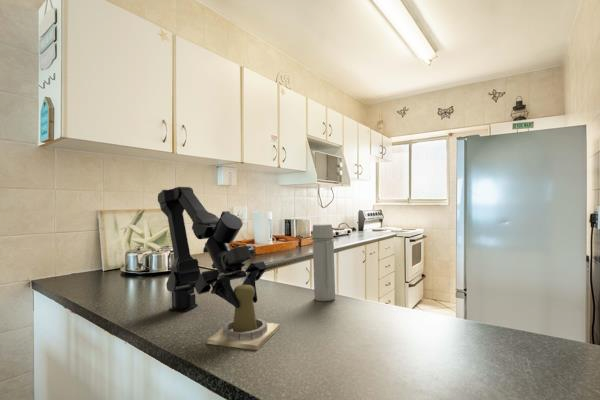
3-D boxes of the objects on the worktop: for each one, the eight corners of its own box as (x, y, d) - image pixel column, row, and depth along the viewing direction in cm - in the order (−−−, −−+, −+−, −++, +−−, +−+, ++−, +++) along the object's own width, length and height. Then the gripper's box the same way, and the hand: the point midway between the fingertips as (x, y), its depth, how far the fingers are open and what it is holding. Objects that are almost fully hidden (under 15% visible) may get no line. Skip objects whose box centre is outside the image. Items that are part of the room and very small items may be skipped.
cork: (243, 337, 72) (242, 290, 73) (227, 331, 76) (226, 286, 76) (262, 329, 77) (261, 284, 77) (246, 323, 81) (245, 281, 81)
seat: (206, 343, 72) (206, 332, 72) (235, 323, 85) (235, 314, 85) (257, 350, 68) (256, 338, 68) (280, 327, 80) (279, 318, 80)
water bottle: (310, 297, 107) (308, 224, 108) (332, 295, 109) (329, 223, 110) (318, 305, 98) (316, 226, 99) (342, 302, 100) (339, 225, 101)
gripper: (200, 237, 73) (227, 293, 65) (262, 231, 86) (290, 277, 79) (185, 267, 78) (208, 322, 71) (245, 257, 92) (270, 302, 84)
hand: (247, 304), depth 76 cm, fingers closed on cork, 5 cm apart
